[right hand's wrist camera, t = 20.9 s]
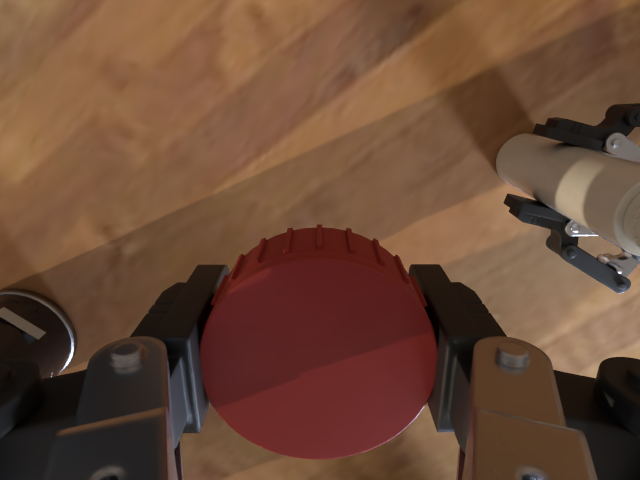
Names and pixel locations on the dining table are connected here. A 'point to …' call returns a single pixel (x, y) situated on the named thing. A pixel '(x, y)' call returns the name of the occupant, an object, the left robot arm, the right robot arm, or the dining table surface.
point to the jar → (577, 185)
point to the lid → (318, 345)
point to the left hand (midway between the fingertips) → (525, 167)
